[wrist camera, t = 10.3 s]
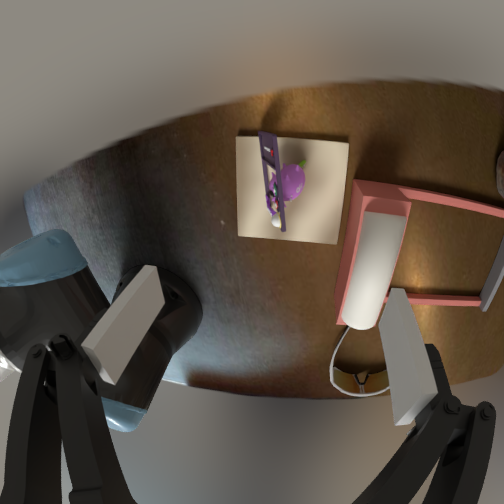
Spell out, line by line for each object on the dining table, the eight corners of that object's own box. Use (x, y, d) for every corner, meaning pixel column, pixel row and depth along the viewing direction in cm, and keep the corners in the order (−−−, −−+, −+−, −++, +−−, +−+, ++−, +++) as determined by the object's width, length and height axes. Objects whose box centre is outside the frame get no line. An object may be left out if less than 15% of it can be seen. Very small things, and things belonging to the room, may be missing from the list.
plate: (239, 232, 34) (238, 235, 34) (237, 135, 28) (235, 136, 28) (336, 241, 32) (336, 244, 32) (347, 142, 26) (348, 143, 26)
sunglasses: (323, 376, 47) (323, 396, 42) (337, 312, 41) (339, 331, 36) (392, 376, 44) (397, 395, 40) (417, 314, 38) (426, 332, 34)
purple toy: (263, 135, 21) (274, 234, 25) (322, 130, 21) (327, 225, 26) (250, 131, 27) (261, 210, 31) (298, 126, 27) (304, 203, 31)
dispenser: (334, 293, 36) (337, 337, 29) (353, 178, 28) (368, 203, 21) (480, 301, 32) (499, 336, 25) (515, 211, 24) (546, 238, 17)
